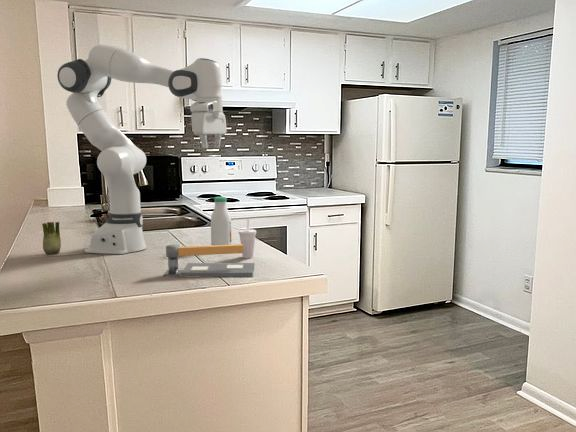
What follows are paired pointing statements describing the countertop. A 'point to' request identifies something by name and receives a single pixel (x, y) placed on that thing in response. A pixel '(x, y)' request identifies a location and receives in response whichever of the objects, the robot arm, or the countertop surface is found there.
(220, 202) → the milk bottle
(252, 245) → the smoothie
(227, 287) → the countertop surface
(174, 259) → the pivot post
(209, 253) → the strip
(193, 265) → the tray
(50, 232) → the fennel bulb
